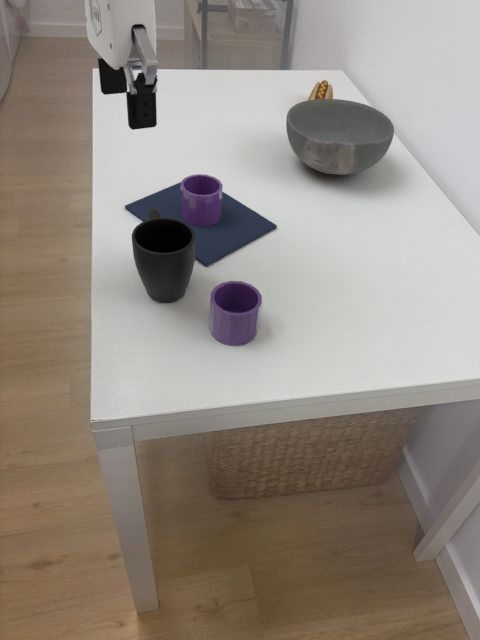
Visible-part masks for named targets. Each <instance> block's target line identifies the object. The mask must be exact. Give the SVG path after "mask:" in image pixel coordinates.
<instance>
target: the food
mask: <svg viewBox="0 0 480 640" xmlns="http://www.w3.org/2000/svg"><path fill="white" fill-rule="evenodd" d="M316 99H334V91H333V85H332V84H331V83H329V82H328V81H327V80H326V79H324V80H322V81H321V82H320V81H317V82H316V83H315V85H314V87H313V89H312V90H311V92H310V95H309V97H308V99H307V101H308V100H316Z"/></svg>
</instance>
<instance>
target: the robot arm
mask: <svg viewBox="0 0 480 640" xmlns="http://www.w3.org/2000/svg"><path fill="white" fill-rule="evenodd" d="M155 5H156V4H155V0H84V9H85V10H84V13H85V25H86V26H85V27H86V36H87V39H88V42H89V44H90V45H91V46H92V48H93V49H94V50H95V51H96V54H97V57H98V58H97V64H98V77H99V85H100V91H101V93H102V94H103V95H105V96H106V95H107V96H108V95H116V94H118V95H119V94H125V96H126V110H127V124H128V127H129V129H130V130H133V131H134V130H142V129H151V128H155V127H157V124H158V119H157V117H158V116H157V114H158V113H157V92H158V86H157V83H158V81H159V79H158V75H157V74H158V69H159V61H158V57H157V21H156V20H157V18H156V6H155ZM130 59H137V60H130ZM134 71H141V72H138V73H137V76H136V78H135V74H134ZM128 90H129V91H128Z"/></svg>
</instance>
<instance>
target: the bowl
mask: <svg viewBox="0 0 480 640" xmlns="http://www.w3.org/2000/svg"><path fill="white" fill-rule="evenodd" d="M285 122H286V123H285V125H286V126H285V127H286V135H287V139H288V143H289V145H290V148H291V149H292V151H293V153H294V154H295V156H296V157H297V158H298V159H299V160H300V162H302V163H304V165H307V166H308V167H309V168H311V169H313V170H315V171H317V172H320V173H323V174H327V175H338V176H343V175H344V176H345V175H346V176H347V175H352V174H358V173H361V172H364V171H366V170H368V169H370V168H373V167H375V165H377V164H378V163H379V162H380V161H381V160H382V159H383V158H384V157H385V155H386V154H387V152H388V150H389V149H390V147H391V145H392V142H393V139H394V134H395V127H394V124H393V122H392V120H391V119H390V118H389V117H388V116H387V115H386V114H384V113H383V112H382V111H380V110H378V109H376V108H375V107H373V106H370V105H367V104H364V103H361V102H357V101H352V100H348V99H340V98H339V99H338V98H333V99H316V100H308V99H307V100H304V101H300V102H298V103H295V104H294V105H293V106H291V108H289V109H288V111H287V114H286V121H285Z"/></svg>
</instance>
